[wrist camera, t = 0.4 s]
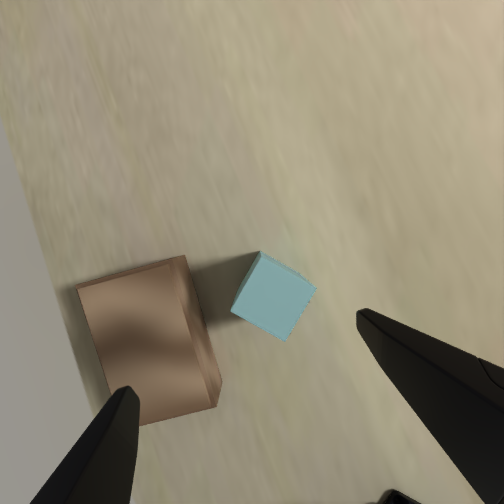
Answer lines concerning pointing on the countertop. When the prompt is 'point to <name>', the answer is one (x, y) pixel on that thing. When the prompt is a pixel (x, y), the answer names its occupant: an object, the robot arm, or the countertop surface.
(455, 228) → the countertop surface
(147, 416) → the walnut block
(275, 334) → the teal block
